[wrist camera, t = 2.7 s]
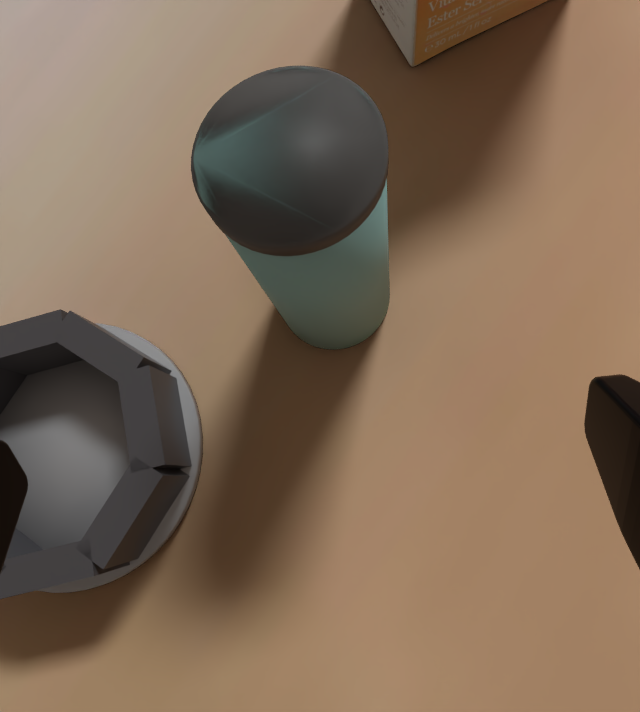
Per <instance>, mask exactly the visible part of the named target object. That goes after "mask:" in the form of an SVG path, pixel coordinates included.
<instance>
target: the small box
mask: <svg viewBox="0 0 640 712" xmlns="http://www.w3.org/2000/svg"><path fill="white" fill-rule="evenodd" d="M546 1H548V0H371V2H372V4H373V5H374V7H375V9H376V10H377V12H378V13H379V15H380V17H381V18H382V20H383V22H384V23H385V25H386V27H387V28H388V30H389V31H390V33H391V35H392V36H393V38H394V40H395V41H396V43H397V44H398V46H399V48H400V49H401V51H402V53H403V54H404V56H405V57H406V59H407V61H408V62H409V64H410V65H411V66H416V65H418V64H420V63H422V62H423V61H425V60H427V59H429V58H431V57H433V56H435V55H437V54H438V53H440V52H442V51H444V50H446V49H448V48H450V47H452V46H454V45H456V44H458V43H460V42H462V41H464V40H466V39H468V38H470V37H472V36H475V35H477V34H479V33H481V32H483V31H485V30H487V29H489V28H492V27H494V26H496V25H498V24H500V23H502V22H504V21H506V20H508V19H510V18H513V17H515V16H517V15H519V14H521V13H523V12H525V11H527V10H529V9H532V8H534V7H536V6H538V5H540V4H542V3H544V2H546Z"/></svg>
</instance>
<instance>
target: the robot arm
mask: <svg viewBox="0 0 640 712" xmlns="http://www.w3.org/2000/svg"><path fill="white" fill-rule="evenodd" d="M584 425H585V434H586V438H587V441H588V444H589V446H590V449H591V452H592V455H593V457H594V460H595V463H596V466H597V468H598V471H599V474H600V476H601V479H602V482H603V485H604V487H605V490H606V493H607V496H608V498H609V501H610V504H611V506H612V509H613V512H614V515H615V517H616V520H617V522H618V525H619V527H620V530H621V532H622V534H623V537H624V539H625V541H626V543H627V545H628V547H629V549H630V551H631V553H632V555H633V557H634V559H635V561H636V563H637V565H638V567H639V569H640V382H638V381H636V380H634V379H632V378H630V377H628V376H625V375H610V376H601V377H595V378H594V379H593V380H592V381H591V383H590V385H589V391H588V399H587V407H586V414H585V423H584ZM27 490H28V479H27V476H26V474H25V472H24V470H23V469H22V467H21V465H20V464H19V462H18V460H17V459H16V457H15V455H14V454H13V452H12V450H11V449H10V447H9V445H8V444H7V443H6V442H4V441H3V440H0V573H1V570H2V567H3V565H4V562H5V559H6V555H7V552H8V549H9V546H10V543H11V540H12V537H13V534H14V531H15V528H16V525H17V522H18V519H19V516H20V512H21V509H22V506H23V503H24V500H25V497H26V494H27Z"/></svg>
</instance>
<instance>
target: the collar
mask: <svg viewBox="0 0 640 712" xmlns="http://www.w3.org/2000/svg"><path fill="white" fill-rule="evenodd" d="M0 440H3V441H4V442H6V443H7V444H8V445H9V447H10V449H11V450H12V452H13V454H14V455H15V457H16V459H17V460H18V462H19V464H20V465H21V467H22V469H23V470H24V472H25V474H26V476H27V479H28V490H27V494H26V497H25V500H24V503H23V506H22V509H21V512H20V516H19V519H18V522H17V525H16V528H15V531H14V534H13V537H12V540H11V543H10V546H9V549H8V552H7V555H6V559H5V562H4V565H3V567H2V570H1V573H0V599H2V598H6V597H10V596H15V595H19V594H23V593H27V592H31V591H35V590H36V591H44V592H51V593H69V592H76V591H82V590H88V589H91V588H94V587H97V586H100V585H104V584H107V583H109V582H112V581H114V580H116V579H118V578H120V577H122V576H125V575H127V574H128V573H130V572H131V571H133V570H134V569H136V568H138V567H139V566H141V565H142V564H143V563H145V562H146V561H147V560H148V559H149V558H150V557H152V556H153V555H154V554H155V553H156V552H157V551H158V550H159V549H160V548H161V547H162V546H163V545H164V544H165V543H166V541H167V540H168V539H169V538H170V537H171V535H172V534H173V532H174V531H175V530H176V528H177V527H178V525H179V524H180V522H181V520H182V519H183V517H184V515H185V513H186V511H187V509H188V508H189V505H190V503H191V500H192V498H193V495H194V493H195V490H196V486H197V482H198V479H199V475H200V470H201V462H202V455H203V434H202V426H201V418H200V414H199V410H198V406H197V403H196V400H195V398H194V395H193V393H192V390H191V388H190V386H189V384H188V382H187V381H186V379H185V377H184V375H183V374H182V372H181V371H180V370H179V368H178V367H177V366H176V365H175V363H174V362H173V361H172V360H171V359H170V358H169V357H168V356H167V355H166V354H165V353H164V352H163V351H162V350H160V349H159V348H158V347H156V346H155V345H153V344H152V343H151V342H149V341H147V340H146V339H144V338H142V337H140V336H138V335H136V334H134V333H132V332H130V331H127V330H124V329H121V328H119V327H115V326H110V325H105V324H95V323H93V322H91V321H89V320H87V319H85V318H83V317H81V316H79V315H77V314H76V313H74V312H72V311H69V312H68V313H67V312H65V311H63V310H61V309H60V310H57V311H53V312H50V313H46V314H43V315H39V316H36V317H32V318H28V319H25V320H21V321H18V322H14V323H11V324H7V325H4V326H0Z"/></svg>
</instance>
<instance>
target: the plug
mask: <svg viewBox="0 0 640 712" xmlns="http://www.w3.org/2000/svg"><path fill="white" fill-rule="evenodd" d="M191 171H192V179H193V183H194V187H195V190H196V193H197V195H198V197H199V200H200V202H201V203H202V205H203V206H204V208H205V209H206V211H207V212H208V214H209V215H210V217H211V218H212V220H213V221H214V222H215V224H216V225H217V226H218V227H219V228H220V229H221V231H222V232H223V233H225V235H226V236H227V238H228V239H229V240H230V242H231V243H232V245H233V246H234V248H235V249H236V251H237V252H238V254H239V255H240V256H241V258H242V259H243V261H244V262H245V264H246V265H247V267H248V268H249V269H250V271H251V272H252V274H253V275H254V277H255V278H256V280H257V281H258V283H259V284H260V285H261V287H262V288H263V290H264V291H265V293H266V294H267V296H268V297H269V299H270V300H271V301H272V303H273V304H274V306H275V307H276V309H277V310H278V312H279V313H280V315H281V316H282V317H283V319H284V320H285V322H286V323H287V325H288V326H289V328H290V329H291V330H292V331H293V332H294V334H295V335H297V336H298V337H299V338H300V339H301V340H303V341H304V342H306V343H308V344H310V345H312V346H315V347H318V348H323V349H333V350H334V349H343V348H348V347H351V346H354V345H356V344H358V343H360V342H362V341H364V340H365V339H367V338H368V337H369V336H371V335H372V334H373V333H374V332H375V331H376V330H377V328H378V327H379V326H380V324H381V323H382V321H383V319H384V317H385V315H386V313H387V310H388V305H389V298H390V288H389V249H388V210H387V174H388V138H387V131H386V127H385V123H384V120H383V118H382V115H381V113H380V111H379V109H378V108H377V106H376V104H375V103H374V101H373V100H372V99H371V98H370V96H369V95H368V94H367V93H366V92H365V91H364V90H363V89H362V88H361V87H360V86H359V85H357V84H356V83H354V82H353V81H351V80H350V79H348V78H346V77H344V76H342V75H340V74H338V73H336V72H333V71H330V70H327V69H323V68H318V67H311V66H287V67H279V68H275V69H271V70H267V71H264V72H261V73H259V74H256V75H254V76H252V77H250V78H248V79H246V80H244V81H242V82H240V83H239V84H237V85H236V86H234V87H233V88H232V89H230V90H229V91H228V92H227V93H225V94H224V95H223V96H222V97H221V98H220V99H219V100H218V101H217V102H216V103H215V104H214V106H213V107H212V108H211V109H210V111H209V112H208V113H207V115H206V117H205V118H204V120H203V122H202V123H201V125H200V128H199V130H198V132H197V134H196V138H195V141H194V145H193V150H192V156H191Z"/></svg>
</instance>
